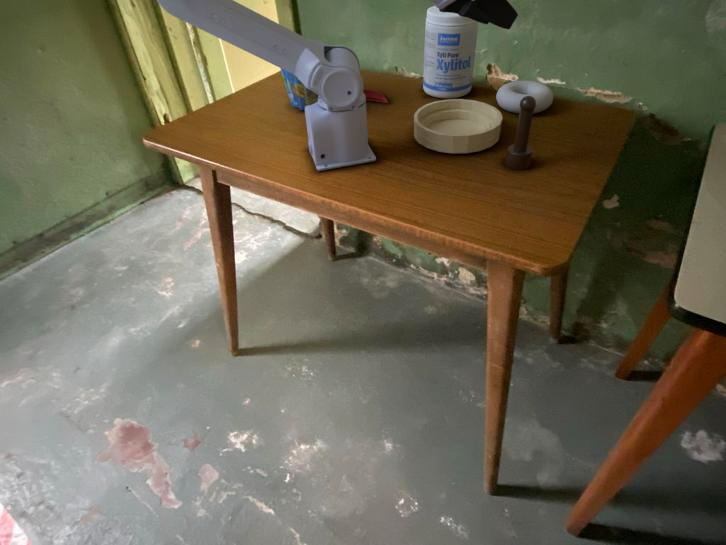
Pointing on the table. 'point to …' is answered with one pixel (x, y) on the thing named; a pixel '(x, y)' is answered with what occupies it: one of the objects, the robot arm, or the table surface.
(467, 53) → the supplement tub
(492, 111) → the bowl
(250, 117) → the table surface
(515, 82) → the donut
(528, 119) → the pestle
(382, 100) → the red curved leaf
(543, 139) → the table surface
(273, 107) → the table surface
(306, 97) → the snack cup
